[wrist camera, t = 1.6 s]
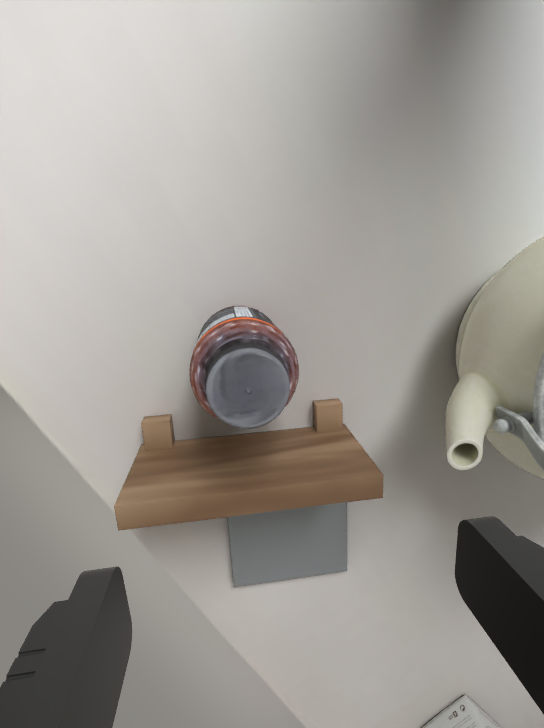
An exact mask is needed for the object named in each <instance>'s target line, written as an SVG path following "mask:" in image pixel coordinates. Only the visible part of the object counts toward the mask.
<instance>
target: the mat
mask: <svg viewBox="0 0 544 728" xmlns="http://www.w3.org/2000/svg"><path fill="white" fill-rule="evenodd" d="M227 518H228V528H229V539H230V549H231V560H232V570H233V581H234V587H239V586H246V585H253V584H260V583H267V582H274V581H281V580H288V579H295V578H302V577H309V576H316V575H323V574H330V573H337V572H344V571H347V502H344V503H336V504H328V505H320V506H312V507H303V508H295V509H287V510H279V511H271V512H263V513H255V514H247V515H239V516H231V517H227Z"/></svg>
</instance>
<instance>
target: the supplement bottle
mask: <svg viewBox="0 0 544 728" xmlns="http://www.w3.org/2000/svg"><path fill="white" fill-rule="evenodd" d="M298 376H299V367H298V360H297V356H296V354H295V351H294V349H293V347H292V345H291V343H290V342H289V341H288V339H287V338H286V337H285V336H284V334H283V333H282V332H281V331H280V330H279V329H278V328H277V327H276V326H275V325H274V324H273V323H272V321H271V320H270V319H269V318H268V317H267V316H265V315H264V314H263V313H261V312H259V311H258V310H256V309H253V308H250V307H244V306H232V307H228V308H225V309H222V310H220V311H218V312H217V313H215V314H214V315H212V316H211V317H210V318H209V319H208V321H207V322H206V323H205V325H204V326H203V328H202V330H201V332H200V334H199V337H198V340H197V343H196V346H195V348H194V351H193V355H192V359H191V363H190V382H191V386H192V390H193V392H194V395H195V397H196V398H197V400H198V402H199V403H200V405H201V406H202V407H203V408H204V409H205V410H206V411H207V412H208V413H209V414H211V415H212V416H214V417H215V418H217V419H219V420H221V421H223V422H225V423H227V424H229V425H231V426H234V427H238V428H255V427H259V426H263V425H265V424H267V423H269V422H271V421H272V420H273V419H275V418H276V417H277V416H278V415H279V414H280V413H281V411H282V410H283V409H284V407H285V406H286V405H287V404H288V403H289V401H290V400H291V398H292V396H293V394H294V392H295V389H296V386H297V382H298V378H299V377H298Z"/></svg>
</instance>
